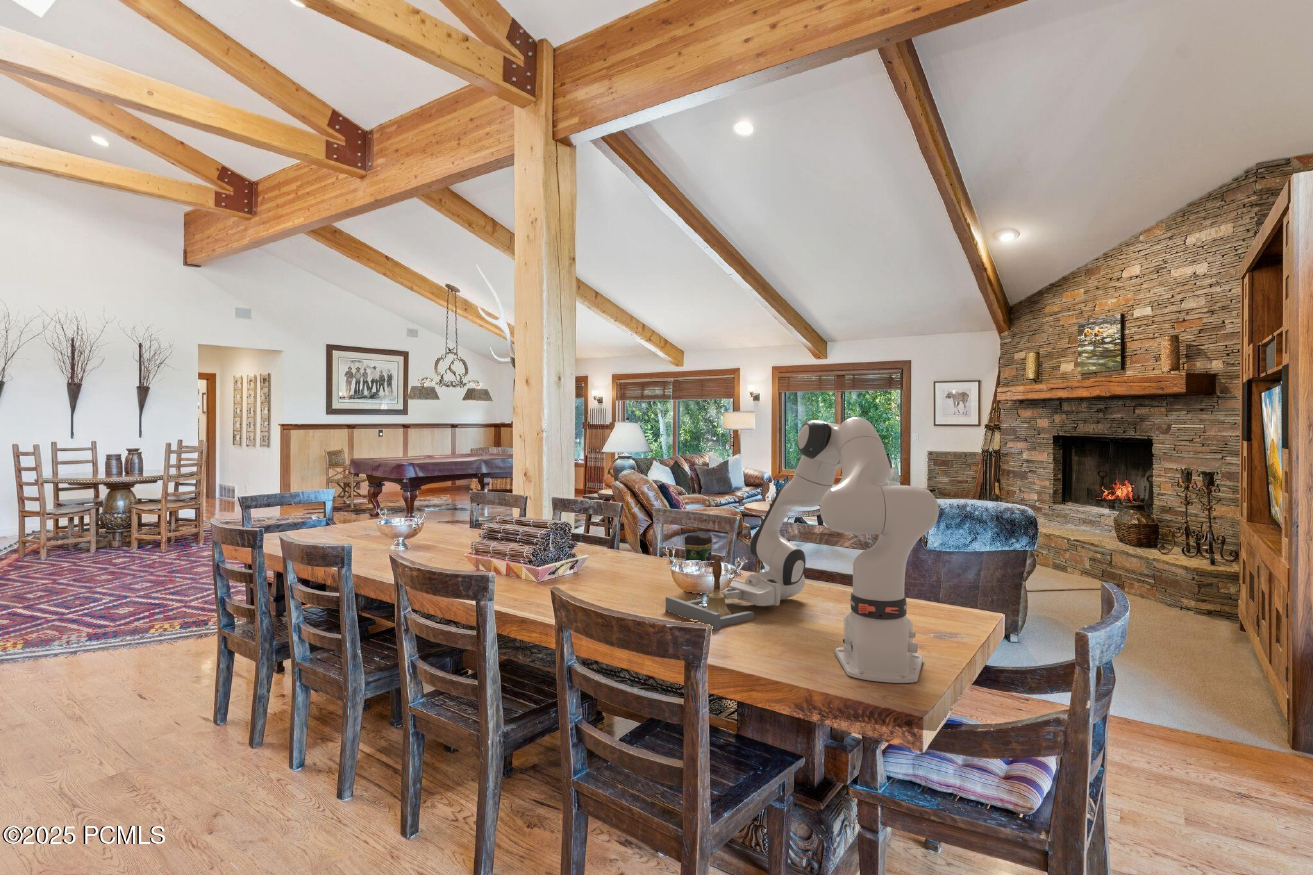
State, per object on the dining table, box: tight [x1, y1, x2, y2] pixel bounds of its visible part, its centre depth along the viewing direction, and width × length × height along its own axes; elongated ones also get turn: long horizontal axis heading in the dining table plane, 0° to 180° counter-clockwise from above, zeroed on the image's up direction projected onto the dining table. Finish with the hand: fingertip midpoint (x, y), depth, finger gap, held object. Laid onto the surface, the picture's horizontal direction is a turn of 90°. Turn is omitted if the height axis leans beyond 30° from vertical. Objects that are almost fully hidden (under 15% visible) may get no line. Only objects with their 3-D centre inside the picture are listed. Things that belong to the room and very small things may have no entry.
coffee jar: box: [684, 530, 713, 563], centre depth 214 cm, size 10×8×19 cm
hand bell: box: [704, 556, 732, 617], centre depth 185 cm, size 8×8×16 cm
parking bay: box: [665, 595, 755, 631], centre depth 184 cm, size 15×22×4 cm, turn 35°
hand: (722, 595), depth 186 cm, fingers closed, pressing on hand bell
